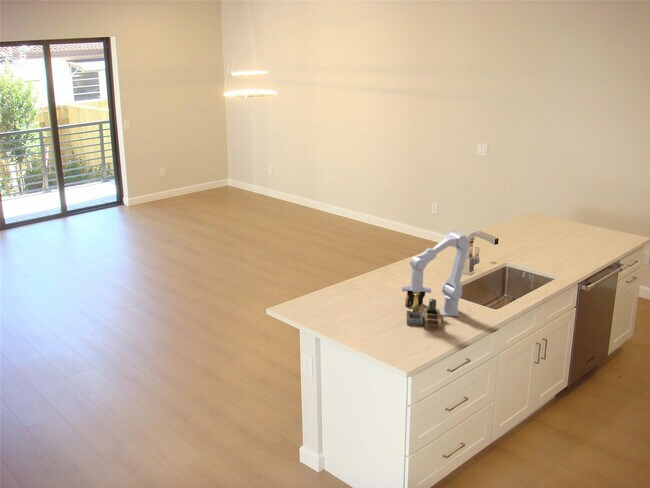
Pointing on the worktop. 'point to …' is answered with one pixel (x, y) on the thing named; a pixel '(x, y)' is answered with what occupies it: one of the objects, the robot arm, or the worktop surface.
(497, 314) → the worktop surface
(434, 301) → the black round bar
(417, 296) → the brass round bar
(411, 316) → the steel socket
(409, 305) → the ammunition clip
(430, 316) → the walnut rack
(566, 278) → the worktop surface
